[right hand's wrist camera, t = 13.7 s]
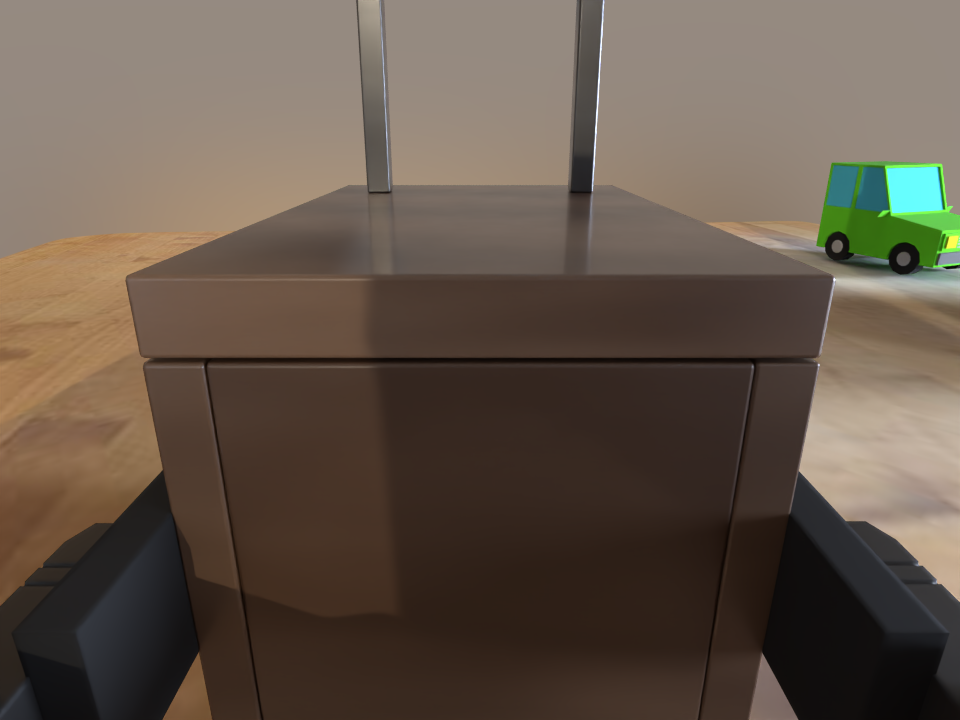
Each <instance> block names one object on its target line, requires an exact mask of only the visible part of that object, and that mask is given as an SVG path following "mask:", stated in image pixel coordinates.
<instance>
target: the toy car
mask: <svg viewBox="0 0 960 720" xmlns="http://www.w3.org/2000/svg"><path fill="white" fill-rule="evenodd" d="M951 208H952V206H949V207H947V204H946V196H945V187H944V178H943V170H942V164H930V163H908V162H887V161H885V162H843V163H832V164H831V169H830V175H829V180H828V186H827V191H826V197H825V202H824V207H823V213H822V218H821V223H820V229H819V234H818V240H817V245H816V246H819V247H825V251H826V253H827V255H828V257H829V258H831V259H833V260H844V259H849V258H850V257H851V256H853V255H854V253H855V254H861V255H866V256H871V257H876V258H881V259H889V265H890V266H891V268H892V270H893V271H895V272H896V273H898V274H911V273H916V272H918V271H919V270H921V269H922V268H923V266H926V267H932V268H934V267H943V268H946V269H956V268H960V215H956V214H953V213H949V211H950V209H951Z"/></svg>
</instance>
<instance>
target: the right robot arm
mask: <svg viewBox="0 0 960 720" xmlns="http://www.w3.org/2000/svg"><path fill="white" fill-rule="evenodd" d="M198 652H199V648H198V643H197V638H196V633H195V628H194V623H193V617H192V612H191V607H190V602H189V597H188V592H187V587H186V582H185V577H184V572H183V567H182V562H181V557H180V552H179V547H178V542H177V537H176V531H175V526H174V521H173V516H172V512H171V507H170V502H169V497H168V492H167V487H166V482H165V477H164V472H163V470H162V472H161V473H160V474H159V475H158V476H157V477H156V478H155V479H154V480H153V481H152V482H151V483H150V484H149V486H148V487H147V488H146V489H145V490H144V491H143V492H142V493H141V494H140V495H139V496H138V497H137V498H136V499H135V501H134V502H133V503H132V504H131V505H130V506H129V507H128V508H127V509H126V510H125V511H124V512H123V513H122V514H121V516H120V517H119V518H118V519H117V520H116V521H115V522H114V523H96V524H94V525H92V526H91V527H89V528H87V529H86V530H84V531H82V532H81V533H79V534H77V535H76V536H74V537H72V538H71V539H69V540H67V541H66V542H65V543H64V544H62V545H61V546H60V547H59V548H58V549H57V550H56V551H55V552H54V553H53V554H52V555H51V556H50V557H49V558H48V559H47V560H46V561H45V562H44V563H43V568H38V569H37V570H36V571H35V572H34V573H33V574H32V575H31V576H30V577H29V578H28V579H27V580H26V581H25V585H24V586H20V587H19V588H18V589H17V590H16V591H15V592H14V593H13V594H12V595H11V596H10V597H9V598H8V599H7V600H6V601H5V602H4V603H3V604H2V605H1V606H0V720H162V719H163V717H164V715H165V713H166V712H167V710H168V708H169V706H170V704H171V702H172V700H173V699H174V697H175V695H176V693H177V691H178V689H179V687H180V686H181V684H182V682H183V680H184V678H185V676H186V674H187V673H188V671H189V669H190V667H191V665H192V663H193V661H194V660H195V658H196V656H197V654H198ZM762 653H763V655H764V656H765V658H766V660H767V662H768V664H769V666H770V668H771V669H772V671H773V673H774V675H775V677H776V679H777V681H778V682H779V684H780V686H781V688H782V690H783V692H784V694H785V695H786V697H787V699H788V701H789V703H790V705H791V707H792V708H793V710H794V712H795V714H796V716H797V718H798V720H960V602H959V601H958V600H957V599H956V598H955V597H954V596H953V595H952V594H951V593H950V592H949V591H948V590H947V589H946V588H945V587H944V586H943V585H942V584H937V580H936V579H935V578H934V577H933V576H932V575H931V574H930V573H929V572H928V571H927V570H926V569H925V568H924V567H923V566H919V565H918V561H917V560H916V559H915V558H914V557H913V556H912V555H911V554H910V553H909V552H908V551H907V550H906V549H905V548H904V547H903V546H902V545H901V544H900V543H899V542H898V541H897V540H896V539H894V538H892V537H891V536H889V535H887V534H886V533H884V532H882V531H881V530H879V529H877V528H876V527H874V526H872V525H871V524H869V523H867V522H866V521H845V520H844V519H843V518H842V517H841V516H840V515H839V514H838V513H837V512H836V510H835V509H834V508H833V507H832V506H831V505H830V504H829V503H828V502H827V501H826V500H825V499H824V498H823V497H822V495H821V494H820V493H819V492H818V491H817V490H816V489H815V488H814V487H813V486H812V485H811V484H810V483H809V482H808V480H807V479H806V478H805V477H804V476H803V475H802V474H801V473H800V472H798V477H797V482H796V487H795V492H794V497H793V502H792V507H791V512H790V514H789V518H788V523H787V528H786V533H785V538H784V543H783V549H782V554H781V559H780V564H779V569H778V574H777V579H776V584H775V589H774V594H773V599H772V604H771V609H770V614H769V619H768V624H767V629H766V634H765V639H764V644H763V649H762Z"/></svg>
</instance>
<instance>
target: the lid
mask: <svg viewBox="0 0 960 720" xmlns="http://www.w3.org/2000/svg"><path fill="white" fill-rule="evenodd" d="M356 3H357V20H358V36H359V53H360V70H361V87H362V104H363V120H364V137H365V154H366V171H367V185H348V186H346V187H343V188H341V189H338V190H336V191H334V192H331V193H329V194H326V195H324V196H321V197H319V198H316V199H314V200H311V201H309V202H307V203H304V204H302V205H299V206H297V207H294V208H292V209H289V210H287V211H284V212H282V213H279V214H277V215H275V216H272V217H270V218H267V219H265V220H262V221H260V222H257V223H255V224H252V225H250V226H248V227H245V228H243V229H240V230H238V231H235V232H233V233H230V234H228V235H225V236H223V237H220V238H218V239H216V240H213V241H211V242H208V243H206V244H203V245H201V246H198V247H196V248H193V249H191V250H189V251H186V252H184V253H181V254H179V255H176V256H174V257H171V258H169V259H166V260H164V261H161V262H159V263H157V264H154V265H152V266H149V267H147V268H144V269H142V270H139V271H137V272H134V273H132V274H130V275H127V277H126V285H127V290H128V296H129V301H130V306H131V311H132V316H133V321H134V326H135V331H136V336H137V341H138V346H139V351H140V355H141V356H142V357H144V358H818V357H820V355H821V352H822V347H823V342H824V337H825V331H826V326H827V321H828V316H829V311H830V306H831V301H832V296H833V291H834V286H835V277H834V276H833V275H831V274H829V273H826V272H824V271H821V270H819V269H816V268H814V267H811V266H809V265H807V264H804V263H802V262H799V261H797V260H794V259H792V258H789V257H787V256H784V255H782V254H779V253H777V252H775V251H772V250H770V249H767V248H765V247H762V246H760V245H757V244H755V243H752V242H750V241H748V240H745V239H743V238H740V237H738V236H735V235H733V234H730V233H728V232H725V231H723V230H720V229H718V228H716V227H713V226H711V225H708V224H706V223H703V222H701V221H698V220H696V219H693V218H691V217H688V216H686V215H684V214H681V213H679V212H676V211H674V210H671V209H669V208H666V207H664V206H661V205H659V204H656V203H654V202H652V201H649V200H647V199H644V198H642V197H639V196H637V195H634V194H632V193H629V192H627V191H624V190H622V189H620V188H617V187H615V186H612V185H593V181H594V165H595V149H596V132H597V115H598V98H599V82H600V65H601V48H602V32H603V15H604V0H577V9H576V30H575V52H574V73H573V95H572V116H571V138H570V159H569V180H568V185H392V163H391V142H390V120H389V98H388V77H387V55H386V33H385V12H384V0H356Z"/></svg>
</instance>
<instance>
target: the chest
mask: <svg viewBox="0 0 960 720" xmlns="http://www.w3.org/2000/svg"><path fill="white" fill-rule="evenodd" d="M143 371H144V376H145V381H146V386H147V391H148V396H149V401H150V406H151V411H152V416H153V421H154V426H155V431H156V436H157V441H158V446H159V451H160V457H161V462H162V467H163V472H164V477H165V482H166V487H167V492H168V497H169V502H170V507H171V512H172V516H173V521H174V526H175V531H176V537H177V542H178V547H179V552H180V557H181V562H182V567H183V572H184V577H185V582H186V587H187V592H188V597H189V602H190V607H191V612H192V617H193V623H194V628H195V633H196V638H197V643H198V648H199V654H200V659H201V664H202V669H203V674H204V679H205V684H206V689H207V694H208V699H209V705H210V710H211V715H212V720H749V718H750V712H751V707H752V702H753V697H754V692H755V687H756V682H757V677H758V672H759V667H760V662H761V657H762V649H763V644H764V639H765V634H766V629H767V624H768V619H769V614H770V609H771V604H772V599H773V594H774V589H775V584H776V579H777V574H778V569H779V564H780V559H781V554H782V549H783V543H784V538H785V533H786V528H787V523H788V518H789V514H790V512H791V507H792V502H793V497H794V492H795V487H796V482H797V477H798V472H799V466H800V461H801V456H802V451H803V446H804V441H805V436H806V431H807V426H808V421H809V416H810V411H811V406H812V401H813V396H814V391H815V386H816V381H817V376H818V371H819V363H818V362H816V361H815V360H813V359H812V358H151V359H149V360H148V361H146V362H145V363H144V365H143Z"/></svg>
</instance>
